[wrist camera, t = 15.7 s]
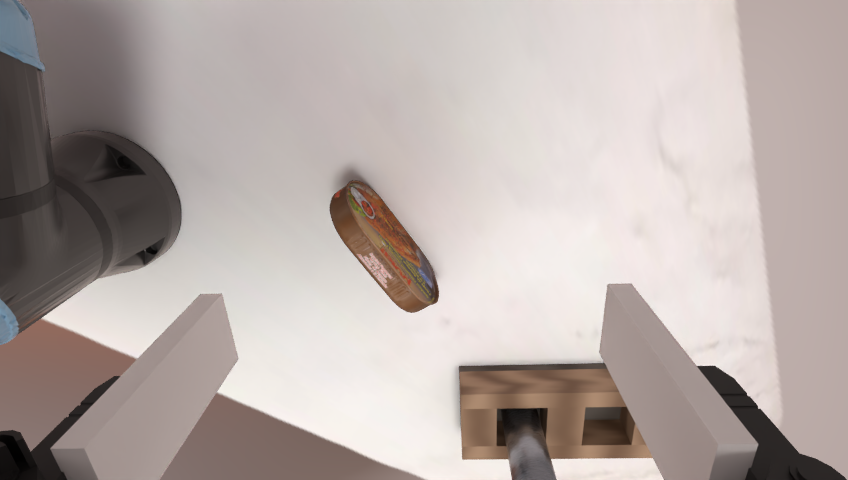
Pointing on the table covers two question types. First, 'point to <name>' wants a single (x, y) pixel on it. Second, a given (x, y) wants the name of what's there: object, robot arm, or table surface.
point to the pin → (526, 445)
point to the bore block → (548, 410)
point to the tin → (383, 247)
